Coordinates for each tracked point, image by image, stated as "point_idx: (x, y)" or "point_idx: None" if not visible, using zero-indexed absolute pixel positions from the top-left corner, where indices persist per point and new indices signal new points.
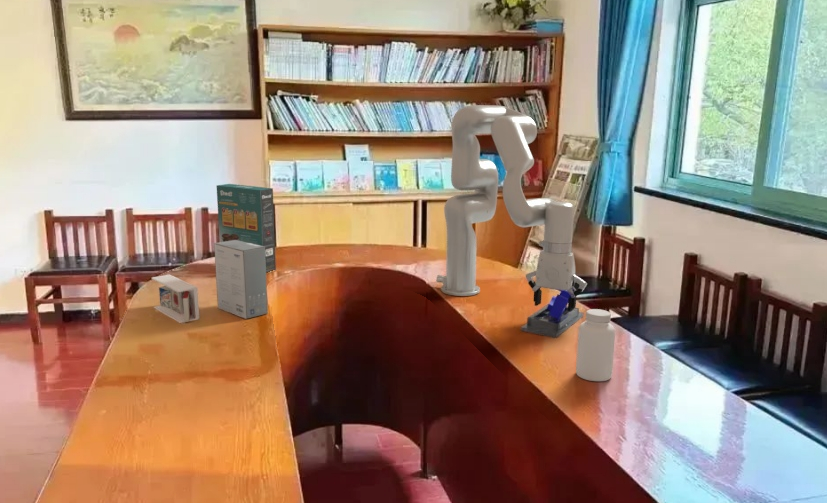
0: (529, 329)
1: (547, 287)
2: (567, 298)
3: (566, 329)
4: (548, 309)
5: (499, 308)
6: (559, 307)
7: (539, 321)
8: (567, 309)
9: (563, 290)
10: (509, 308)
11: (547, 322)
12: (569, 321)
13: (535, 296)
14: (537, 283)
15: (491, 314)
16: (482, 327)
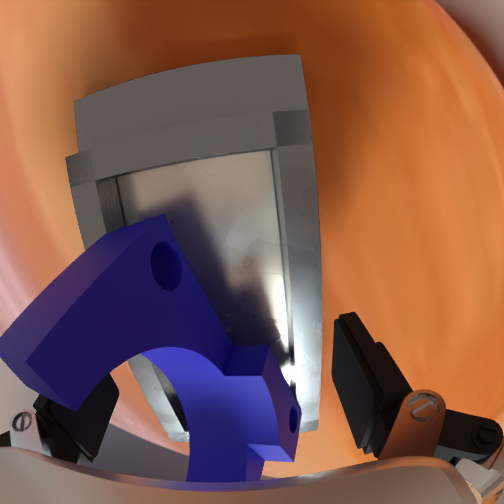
0: (239, 58)
1: (226, 492)
2: (26, 384)
3: None
4: (256, 346)
5: (480, 304)
6: (64, 279)
7: (202, 121)
8: None
9: (27, 451)
10: (454, 331)
11: (138, 135)
12: None
13: (380, 360)
14: (433, 481)
15: (492, 219)
16: (447, 33)
